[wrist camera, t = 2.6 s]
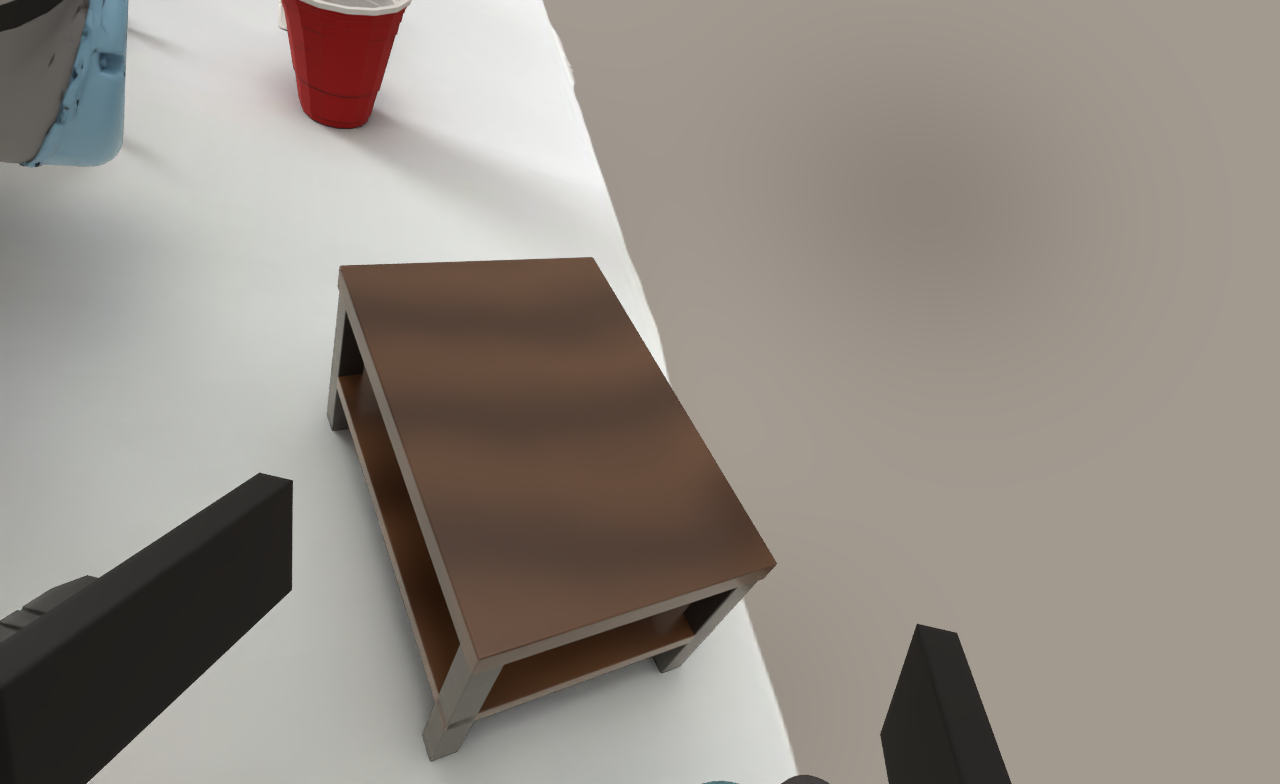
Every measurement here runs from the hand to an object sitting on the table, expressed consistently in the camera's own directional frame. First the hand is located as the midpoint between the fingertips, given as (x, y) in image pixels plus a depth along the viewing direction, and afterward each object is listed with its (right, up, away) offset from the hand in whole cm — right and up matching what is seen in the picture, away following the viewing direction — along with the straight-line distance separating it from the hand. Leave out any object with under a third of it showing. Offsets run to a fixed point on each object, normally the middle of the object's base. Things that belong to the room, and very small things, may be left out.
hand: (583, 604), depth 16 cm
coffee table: (-7, -4, +31) cm, 32 cm away
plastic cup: (-26, +29, +54) cm, 67 cm away
